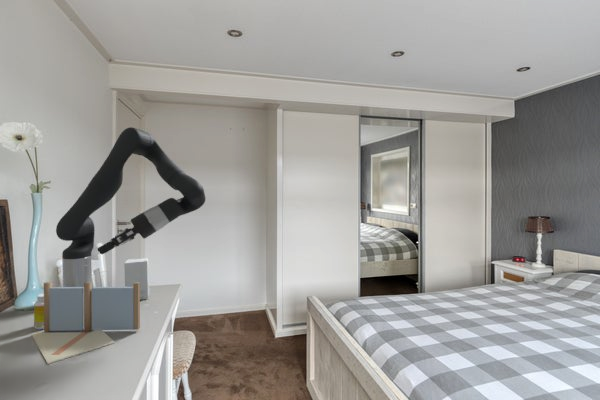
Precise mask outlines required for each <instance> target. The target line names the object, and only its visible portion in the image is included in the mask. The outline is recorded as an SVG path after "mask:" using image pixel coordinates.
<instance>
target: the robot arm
mask: <svg viewBox="0 0 600 400" xmlns="http://www.w3.org/2000/svg"><path fill="white" fill-rule="evenodd" d="M132 155H137V156H142V157H143V158H145V159H147V160H148V161H149V162H151V163H152V164H153V165H154V167H155V169H156V172H157V173H158V175H159V176H160V178H161V179H162V180H163V181H164V182H165V183H166V184H167V185H168V186H169V187H170V188H172V189H173V190H175V191H178V192H179V193H180V194H181V195H182V197H180V198H177V199H176V198H174V197H170V198H167V199H166V200H164V201H162V202H160V203H158V204H157V205H154V206H152V207H149V208H148V209H146V210H145V211H143V212H141V213H140V214H138V215H136V216H135V217H133V218H130V222H131V224H132V225H133V227H131V228H125V229H123V230H122V231H121V232H119V233H118V234H115V236H114V237H112V238H111V239H110V240H108V242H106V243H104V244H103V245H100V246H99V247H98V248H97V251H98V252H99V254H100V255H104V254H106V253H108V252H110V251H112V250H113V249H115V248H117V247H119V246H122V245H125V244H126V243H128V242H131V241H133V240H134V239H135V237H136V235H138V234H139V235H140V236H141V238H142V239H147V238H148V237H150V236H151V235H153V234H155V233H156V232H158V231H160V230H161V229H163V228H164V227H165V226H167V225H168V224H169V223H172V222H173V221H174V220H176V219H177V218H179V217H181V216H184V215H187V214H189V213H192V212H194V211H197V210H198V209H200V208H201V207H203V205H204V204H205V202H206V195H205V189H204V187H203V185H202V184H201V183H200V182H199V181H198V180H196V179H195V178H193V177H192V176H190V175H189V174H187V173H186V172H185V171H184V170H183V169H181V167H180V166H179V165H177V164H176V163H175V162H174V160H172V159H171V158H170V157H169V156H168V154H167V153H165V151H164V150H163V149H162V147H161V146H160V145H159V143H158V141H156V139H155V138H154V137H153V136H152V135H151V134H150V133H149V132H146V131H144V130H141V129H139V128H136V127H131V126H130V127H127V128H125V129H124V130H122V132H121V133H120V134H119V135H118V137H117V139H116V141H115V142H114V145H113V147H112V148H111V150H110V152H109V154H108V155H107V157H106V159H105V160H104V162H103V163H102V165H101V166H100V167H99V169H98V170H97V172H96V173H95V174H94V176H93V177H92V178H91V180H90V181H89V182H88V185H87V186H86V187H85V189H84V190H83V191H82V193H81V194H80V196H78V199H77V200H76V201H75V203H74V204H73V205H71V207H70V208H69V209H68V210H67V212H66V213H65V214H63V216H62V217H61V218H60V219H59V221H58V223H57V225H56V229H55V232H56V235H57V237H58V238H59V239H60V240H62V241H66V242H67V241H69V242H71V241H72V242H71V243H70V245H69V246H67V247H66V248H65V249H64V250H63V251H62V254H61V255H62V256H61V257H62V261H61V262H62V287H84V283H85V282H92V251H93V250H94V246H95V222H94V221H93V219H92V218H91V217H90V216H91V215H92V214H94V213H95V212H96V211H97V210H99V209H100V208H102V207H103V206H105V205H106V204H108V203H109V202H110V201H111V200H112V199H113V197H114V196H115V195H116V194H117V192H118V191H119V189H120V188H121V187H122V184H123V178H124V177H123V176H124V174H123V173H124V166H125V165H126V162H128V160H129V158H130V157H131V156H132ZM92 283H93V282H92Z"/></svg>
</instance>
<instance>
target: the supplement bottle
mask: <svg viewBox="0 0 600 400" xmlns="http://www.w3.org/2000/svg"><path fill="white" fill-rule="evenodd" d="M36 296H37V297H36V298H37V299H36V300H37V301H35V302H34V303H33V316H34V317H33V328H34V329H35V330H44V292H43V293H40V294H38V295H36Z"/></svg>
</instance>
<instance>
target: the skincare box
mask: <svg viewBox="0 0 600 400" xmlns="http://www.w3.org/2000/svg"><path fill="white" fill-rule="evenodd" d="M123 265H124V267H123V268H124V287H133V283H135V282H140V301H141V300H148V299H149V297H150V267H149V265H150V262H149V257H145V258H143V257H142V258H131V259H126V261H125V262H124V264H123Z"/></svg>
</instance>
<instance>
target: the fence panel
mask: <svg viewBox="0 0 600 400" xmlns="http://www.w3.org/2000/svg"><path fill="white" fill-rule="evenodd" d="M91 289H92V330H102V331H126V330H128V331H133V330H134V331H137V330H140V328H141V310H140V309H141V300H140V282H135V283H133V287H125V286H92V288H91Z"/></svg>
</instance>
